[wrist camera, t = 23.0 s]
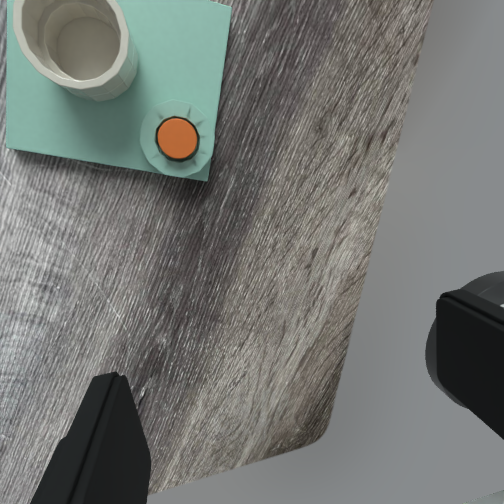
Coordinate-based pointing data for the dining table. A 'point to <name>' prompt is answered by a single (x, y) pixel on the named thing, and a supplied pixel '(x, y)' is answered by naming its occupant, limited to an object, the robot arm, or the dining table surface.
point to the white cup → (78, 45)
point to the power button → (177, 138)
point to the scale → (130, 93)
